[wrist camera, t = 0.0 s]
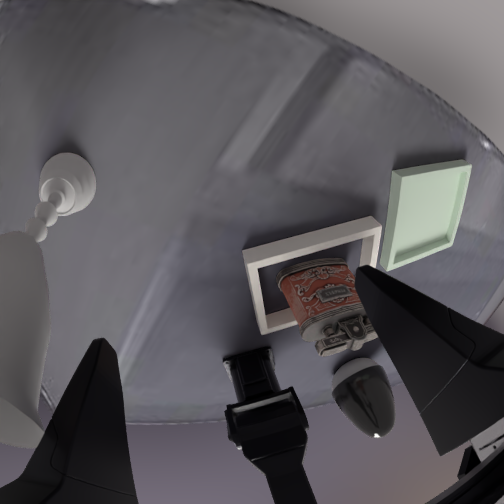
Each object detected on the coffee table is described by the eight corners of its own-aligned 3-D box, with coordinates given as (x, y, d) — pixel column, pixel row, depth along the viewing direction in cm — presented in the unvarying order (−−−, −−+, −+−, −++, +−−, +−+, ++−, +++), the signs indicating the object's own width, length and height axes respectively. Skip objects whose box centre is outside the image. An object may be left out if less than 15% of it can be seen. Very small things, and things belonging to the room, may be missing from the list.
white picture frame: (361, 287, 35) (369, 298, 33) (256, 322, 33) (261, 335, 32) (371, 215, 28) (381, 225, 27) (241, 250, 27) (247, 264, 25)
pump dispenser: (331, 387, 52) (361, 451, 40) (318, 371, 46) (352, 448, 34) (376, 362, 51) (411, 423, 39) (371, 341, 45) (413, 415, 33)
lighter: (347, 253, 30) (398, 320, 23) (342, 277, 32) (386, 343, 25) (276, 266, 29) (316, 347, 21) (275, 291, 31) (310, 369, 23)
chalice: (49, 124, 16) (-129, 303, 2) (123, 161, 19) (56, 410, 5) (21, 204, 18) (-77, 402, 4) (87, 236, 22) (43, 458, 8)
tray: (444, 239, 34) (452, 245, 33) (379, 263, 33) (386, 271, 32) (462, 159, 27) (471, 164, 25) (391, 170, 25) (401, 177, 24)
